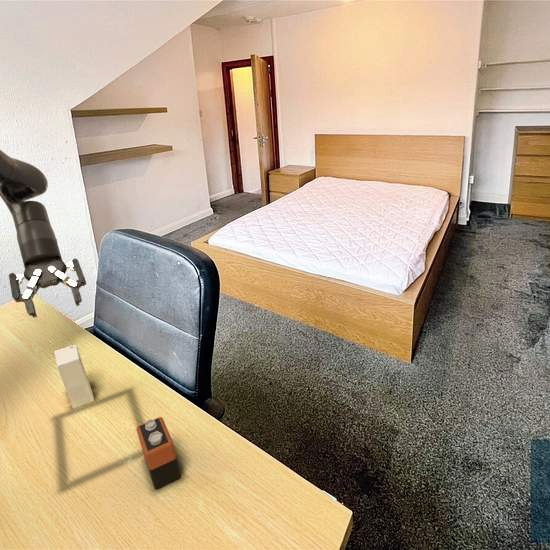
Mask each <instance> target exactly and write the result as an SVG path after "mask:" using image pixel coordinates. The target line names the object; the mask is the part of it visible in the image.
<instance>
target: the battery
mask: <svg viewBox="0 0 550 550" xmlns="http://www.w3.org/2000/svg"><path fill="white" fill-rule="evenodd" d="M136 432H137V433H136V434H137V436H138V440H139V444H140V446H141V450H142V454H143V457H144V461H145V464H146V467H147V470H148V474H149V476H150V479H151V483H152V486H153V488H154V490H156V491H158V490H160V489H163V488H165V487H167V486H168V485H171V484H173V483H175V482H177V481H179V480H180V479H182V474H181V470H180V466H179V461H178V457H177V454H176V449H175V446H174V441H173V438H172V437H171V434H170V432H169V430H168V427H167V425H166V422H165V420H164V418H163V417H162V416H159V417H157V418H154V419H148V420H147V421H145V422H144V423H142V424H140V425H137V426H136Z"/></svg>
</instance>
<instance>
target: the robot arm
mask: <svg viewBox="0 0 550 550" xmlns="http://www.w3.org/2000/svg"><path fill="white" fill-rule="evenodd" d="M48 187H49V182H48V179H47V176H45V174H44V173H43V172H42V171H41V170H40V169H39V168H38V167H36V166H35V165H33V164H31V163H29V162H26V161H23V160H20V159H17V158H14V157H11V156H10V155H8V154H6V152H4V151H3V150H1V149H0V198H1V200H2V201H3V202H4V204H5V205H6V207H7V209H8V211H9V213H10V214H11V216H12V219H13V224H14V227H15V232H16V240H17V245H18V247H19V252H20V255H21V259H22V263H23V267H24V271H23V272H21V273H16V274H15V272H11V273H9V274H8V279H9V285H10V292H11V297H12V299H13V300H14V301H15V302H16V303H24V307H25V310H26V313H27V314H28V316H30V317H32V318H33V319H34V318H37V317H38V315H37V311H36V307H35V303H34V301H33V299H34V297H35V295H36V294H37V293H38V292H39V290H40V289H47V288H48V287H49V288H50V287H55V286H59V284H60V283H61V284H63V285H64V286H66V287H68V288H70V289H71V293H72V296H73V299H74V304H75V306H76V307H78V306H80V305H81V304H80V303H82V302H83V299H82V295H81V293H80V292H81V291H80V288H81V287H85V286H86V285H87V280H86V277H85V274H84V273H83V270H82V267H81V264H80V261H79V260H78V258H73V259H72V260H71V261H68V262H64V260H63V258H62V255H61V251H60V248H59V245H58V244H59V243H58V239H57V236H56V234H55V231H54V229H53V227H52V224H51V221H50V217H49V214H48V211H47V208H46V205H44V204H43V203H42V202H39V201H37V200H31V199H34V198H37V197H39V196H42V195H44V194H45V193H46V192H47V190H48ZM68 269H70V271H71V272H75V274H76V276H77V280H74V279H72V278H71V277H70V276H68V275H67V274H66V273H67V271H68ZM24 279H25V280H27V281H28V284H27V285H26V289H25V291H24V292H23V293H21V288H20V285H21V284H23V280H24Z"/></svg>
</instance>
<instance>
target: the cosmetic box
mask: <svg viewBox="0 0 550 550" xmlns="http://www.w3.org/2000/svg"><path fill="white" fill-rule="evenodd" d="M54 358H55V362H56V367H57V370H58V372H59V376H60V378H61V381H62V383H63V386H64V388H65V391H66V394H67V396H68V399H69V402H70V404H71V407H72V409H76V408H79V407H81V406H84V405H86V404H89V403H92V402H94V401H95V397H94V393H93V390H92V386H91V384H90V381H89V378H88V375H87V372H86V368H85V366H84V363H83V361H82V358H81V354H80V351H79V349H78V346H77V344H72V345H69V346H66V347H62V348H59V349H57V350H55V351H54Z"/></svg>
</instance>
